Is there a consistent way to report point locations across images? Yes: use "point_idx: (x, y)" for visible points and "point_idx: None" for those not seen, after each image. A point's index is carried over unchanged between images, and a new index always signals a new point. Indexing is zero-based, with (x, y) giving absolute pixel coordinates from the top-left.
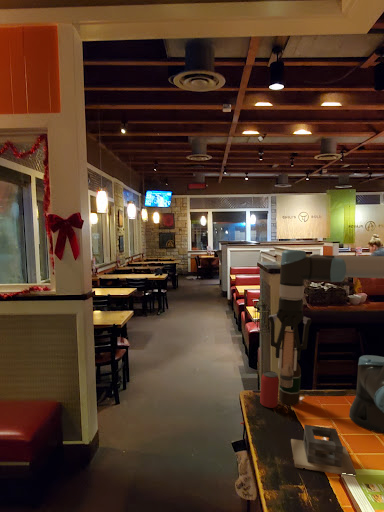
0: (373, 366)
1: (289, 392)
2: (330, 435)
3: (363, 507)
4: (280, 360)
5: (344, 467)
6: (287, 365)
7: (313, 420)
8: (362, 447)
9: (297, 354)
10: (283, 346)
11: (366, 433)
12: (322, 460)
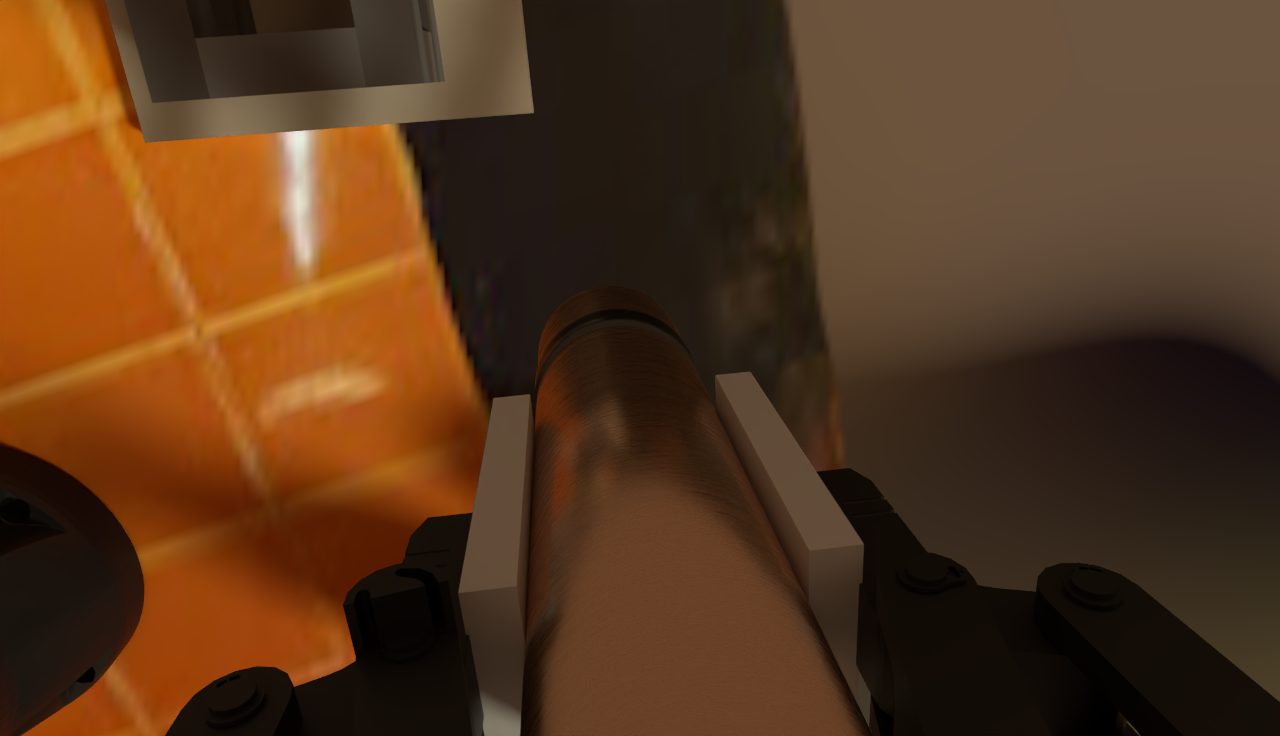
0: None
1: None
2: (202, 21)
3: None
4: (766, 434)
5: None
6: (634, 385)
7: (385, 442)
8: (37, 212)
9: (458, 576)
10: (807, 616)
11: (18, 402)
12: None
